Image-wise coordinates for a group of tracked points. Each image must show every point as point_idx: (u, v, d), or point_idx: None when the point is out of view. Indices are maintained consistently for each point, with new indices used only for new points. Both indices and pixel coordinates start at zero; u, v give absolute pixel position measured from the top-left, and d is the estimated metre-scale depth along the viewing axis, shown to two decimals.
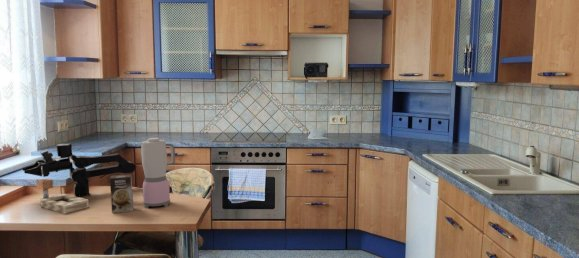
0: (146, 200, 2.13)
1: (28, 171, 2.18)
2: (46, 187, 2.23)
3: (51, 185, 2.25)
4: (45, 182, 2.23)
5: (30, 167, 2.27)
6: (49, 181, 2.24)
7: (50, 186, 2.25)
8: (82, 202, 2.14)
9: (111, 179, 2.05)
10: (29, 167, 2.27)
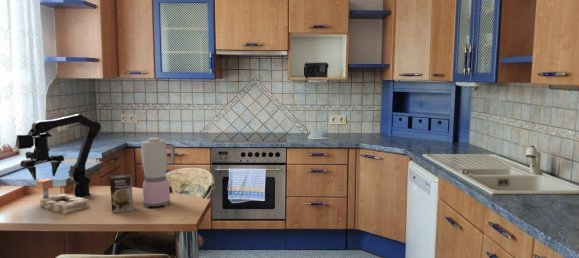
0: (146, 200, 2.13)
1: (33, 176, 2.20)
2: (46, 187, 2.23)
3: (51, 185, 2.25)
4: (45, 182, 2.22)
5: (52, 169, 2.28)
6: (49, 181, 2.24)
7: (50, 186, 2.25)
8: (82, 202, 2.14)
9: (111, 179, 2.05)
10: (52, 169, 2.28)
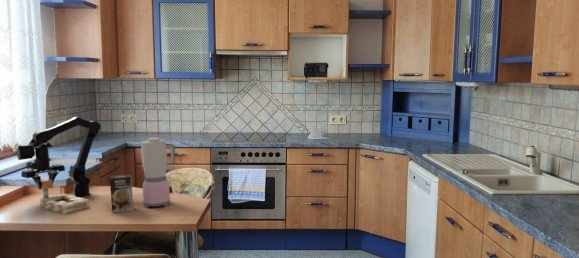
0: (146, 200, 2.13)
1: (37, 186, 2.22)
2: (46, 187, 2.23)
3: (51, 185, 2.25)
4: (45, 182, 2.23)
5: None
6: (49, 181, 2.24)
7: (50, 186, 2.25)
8: (82, 202, 2.14)
9: (111, 179, 2.05)
10: None
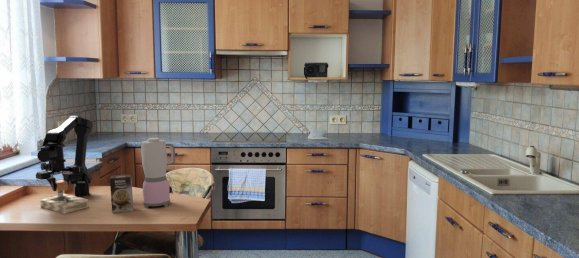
0: (146, 200, 2.13)
1: (52, 187, 2.15)
2: (61, 189, 2.16)
3: (66, 187, 2.18)
4: (60, 184, 2.15)
5: None
6: (64, 183, 2.17)
7: (65, 188, 2.18)
8: (82, 202, 2.14)
9: (111, 179, 2.05)
10: None
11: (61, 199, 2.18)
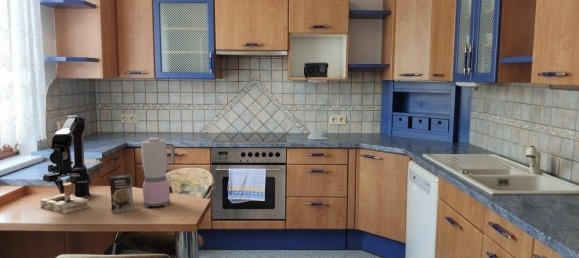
0: (146, 200, 2.13)
1: (59, 190, 2.12)
2: (68, 191, 2.12)
3: (73, 189, 2.14)
4: (67, 186, 2.12)
5: None
6: (71, 185, 2.14)
7: (72, 190, 2.14)
8: (82, 202, 2.14)
9: (111, 179, 2.05)
10: None
11: (68, 202, 2.14)
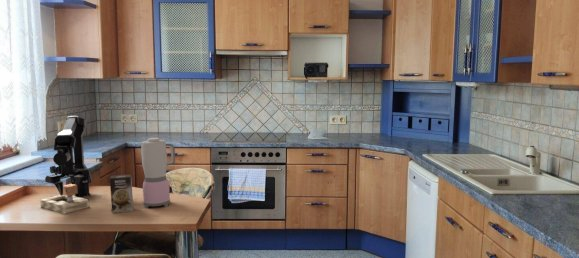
0: (146, 200, 2.13)
1: (59, 192, 2.10)
2: (71, 193, 2.12)
3: (76, 191, 2.14)
4: (70, 188, 2.11)
5: (76, 184, 2.17)
6: (74, 187, 2.13)
7: (75, 192, 2.13)
8: (82, 202, 2.14)
9: (111, 179, 2.05)
10: None
11: None
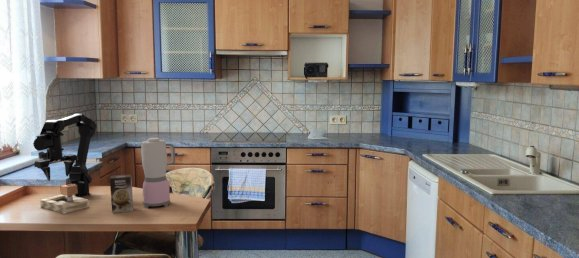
0: (146, 200, 2.13)
1: (47, 177, 2.16)
2: (71, 193, 2.12)
3: (76, 191, 2.14)
4: (70, 188, 2.11)
5: (66, 169, 2.24)
6: (74, 187, 2.13)
7: (75, 192, 2.13)
8: (82, 202, 2.14)
9: (111, 179, 2.05)
10: (66, 170, 2.24)
11: None
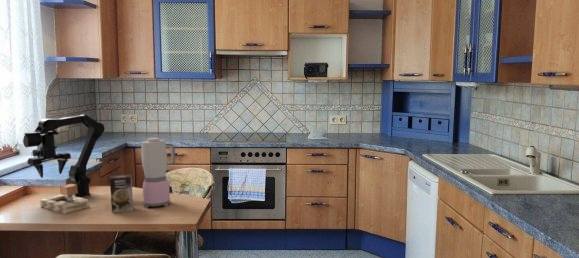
0: (146, 200, 2.13)
1: (40, 174, 2.20)
2: (71, 193, 2.12)
3: (76, 191, 2.14)
4: (70, 188, 2.11)
5: (59, 166, 2.28)
6: (74, 187, 2.13)
7: (75, 192, 2.13)
8: (82, 202, 2.14)
9: (111, 179, 2.05)
10: (59, 167, 2.29)
11: None
